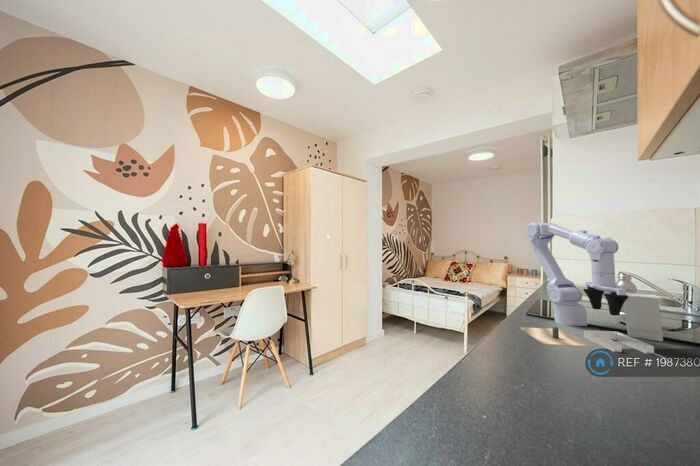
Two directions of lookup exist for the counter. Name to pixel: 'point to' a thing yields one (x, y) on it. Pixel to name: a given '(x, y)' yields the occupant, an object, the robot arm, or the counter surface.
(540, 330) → the hook board
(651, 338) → the skincare box
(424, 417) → the counter surface
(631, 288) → the plastic bottle
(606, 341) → the c link
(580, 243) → the robot arm
